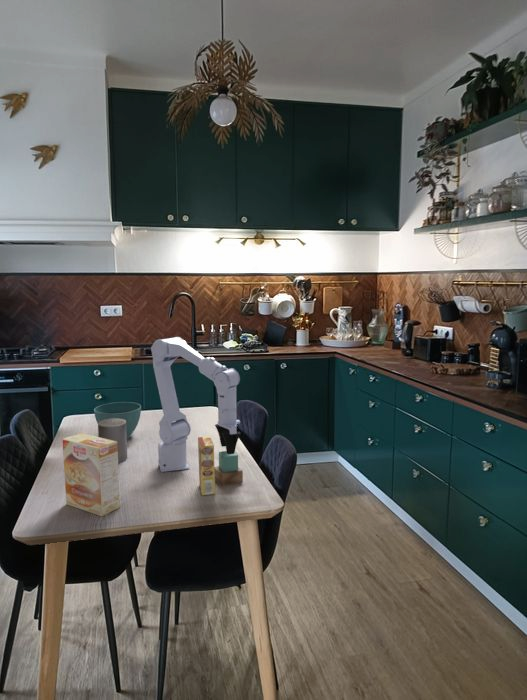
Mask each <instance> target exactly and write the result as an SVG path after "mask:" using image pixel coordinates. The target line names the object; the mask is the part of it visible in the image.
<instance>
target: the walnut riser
mask: <svg viewBox="0 0 527 700" xmlns="http://www.w3.org/2000/svg"><path fill="white" fill-rule="evenodd" d="M214 469H215V482H217V483H218V484H219V485H221V486H222V487H224V486H230V485H234V484H240V483H242V482H244V478H243V477H244V473H243V469H241V468H240V467H239V466H238V471H230V472H222V471H221V469H220V468H219V465H218V466H214Z"/></svg>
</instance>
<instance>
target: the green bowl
mask: <svg viewBox="0 0 527 700" xmlns="http://www.w3.org/2000/svg"><path fill="white" fill-rule="evenodd" d="M141 412H142V405H141V404H140V403H137V402H130V401H128V402H127V401H119V402H109V403H105V404H101V405H98V406H96V407H95V408H94V409H93V413H94V417H95V420H96V423H97V424H98V423H99V422H100V421H102V420H105V419H111V418H112V419H113V418H117V419H123V420H126V435H127V439H128V438H130V437H131V435H132V434H134V432H135V430H136V428H137V426H138V424H139V421H140V418H141Z"/></svg>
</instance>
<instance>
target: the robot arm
mask: <svg viewBox="0 0 527 700" xmlns="http://www.w3.org/2000/svg"><path fill="white" fill-rule="evenodd" d="M150 351H151V355H152V366H153V372H154V375H155V376H154V377H155V381H156V385H157V389H158V394H159V398H160V404H161V408H162V411H163V412H162V413H163V416H162V418H161V419H160V420H159V423H158V424H159V432H158V433H159V438H160V440H161V442H159V443H157V444H158V447H157V449H158V451H157V452H158V460H157V461H158V466H159V469H160V471H161V473H163V472H164V473H165V472H171V471H180V470H188V469H190V465H189V464H188V462H187V461H188V459H187V457H188V456H187V440H188V436H190V434H191V431H192V430H191V425H190V423H189V421H188V419H187V415H186V414H184V413H183V412H181V411H180V406H179V401H178V397H177V393H176V392H177V391H176V388H175V383H174V379H173V378H174V377H173V373H172V369H171V366H172V365H173V363H174V361H175V360H176V359H178V358H179V357H181V358H183V359H185V361H188V362H190V363H191V364H193V365H194V366H197V367H198V371H199V373H200V374H201V375H204V376H205V377H206V378H208V379H209V380H211V381H212V382H213V384H214V387H215V388H216V393H217V409H218V410H217V413H218V415H217V416H218V417H217V424H214V426H215V428H216V430H217V433H218V437H219V441H220V442H219V443H220V445H221V447H225V451H227V454H234V452H236V447H237V444H238V440H239V438H240V437H241V434H242V433H241V432H240V431H237V426H238V425H239V424H240V423H241V421H240V419H237V386H238V385H239V384H240V381H241V376H240V374H239V372H238V371H237V370H236V369H235V368H233V367H231V368H227V366H226V365H225V364H224V365H222V364H221V363H220V362H218V361H216V358H214V357H213V356H212V357H210V356H208V357H207V356H206V357H204V356H202V354H201V353H199V352H198V351H196V350H195V349H194V348H193V347H192V346H190V345H189V344H188V343H187V341H186V340H184V339H183V338H181V337H180V336H175V337H170V338H169V337H168V338H162V339H160V338H159V339H156V340H155V341H154V342H153V343H152V345H151V347H150Z"/></svg>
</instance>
